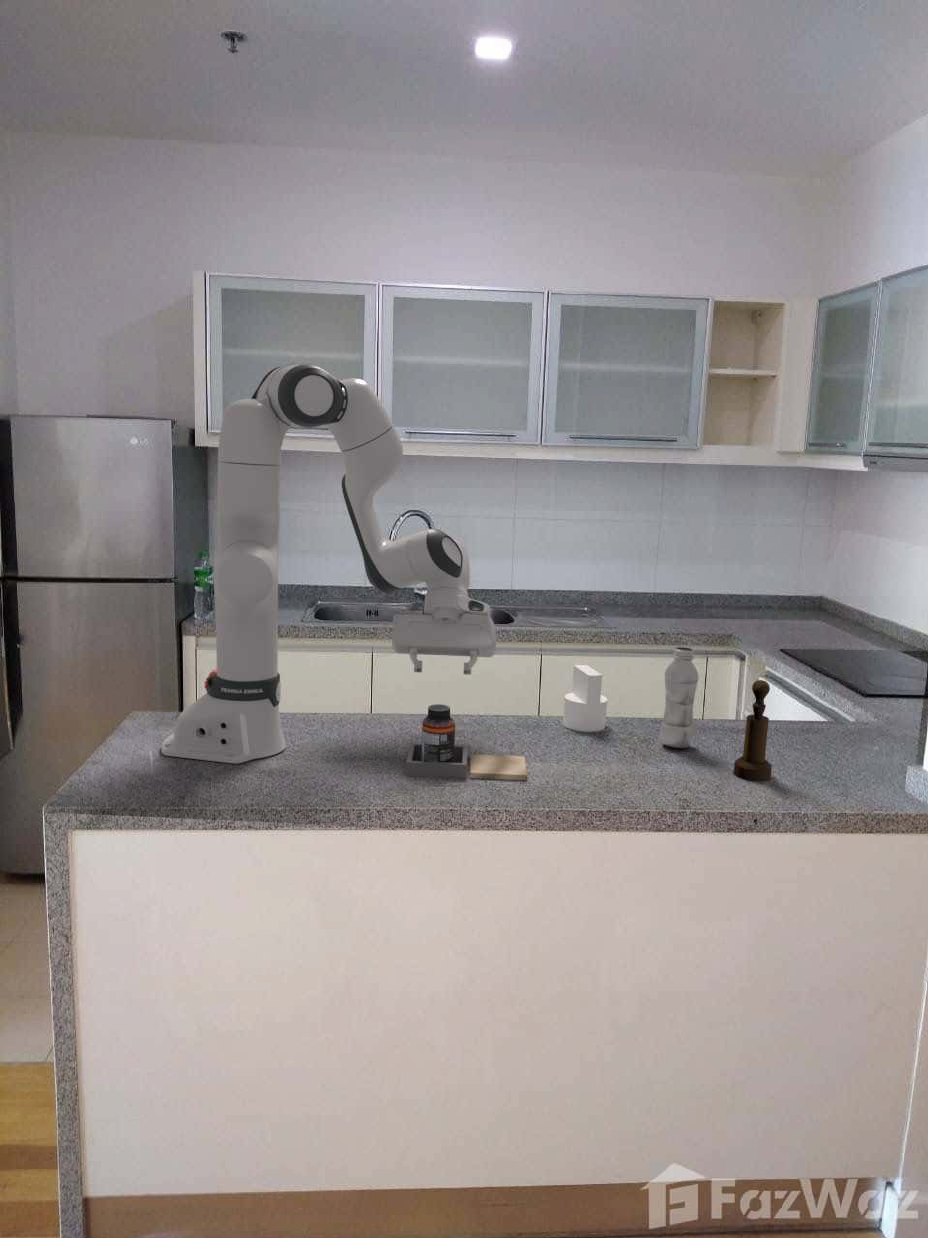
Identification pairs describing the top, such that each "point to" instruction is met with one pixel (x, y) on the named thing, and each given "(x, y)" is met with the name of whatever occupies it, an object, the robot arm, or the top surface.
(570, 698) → the base with upright slab
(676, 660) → the plastic bottle
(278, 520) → the robot arm
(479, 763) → the coaster
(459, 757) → the holder
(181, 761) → the top surface
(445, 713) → the supplement bottle
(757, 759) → the brown wooden upright piece
